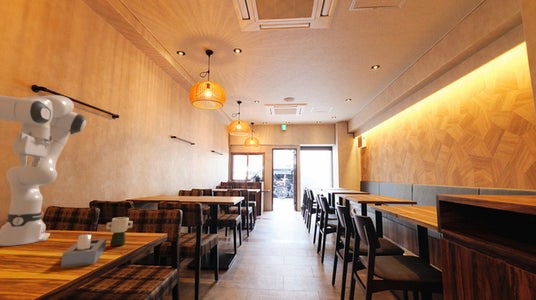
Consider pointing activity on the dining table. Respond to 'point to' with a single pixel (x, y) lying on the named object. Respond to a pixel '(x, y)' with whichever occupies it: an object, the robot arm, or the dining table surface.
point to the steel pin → (84, 242)
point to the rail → (83, 254)
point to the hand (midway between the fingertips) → (29, 166)
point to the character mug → (119, 230)
